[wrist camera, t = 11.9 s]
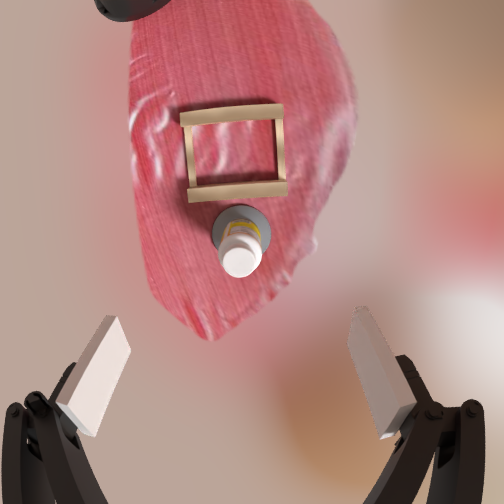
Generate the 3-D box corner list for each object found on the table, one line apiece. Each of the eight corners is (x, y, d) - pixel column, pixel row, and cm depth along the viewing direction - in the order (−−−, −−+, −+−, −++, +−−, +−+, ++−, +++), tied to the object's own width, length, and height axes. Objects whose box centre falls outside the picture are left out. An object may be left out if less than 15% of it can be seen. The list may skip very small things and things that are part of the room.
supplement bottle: (238, 257, 44) (234, 291, 34) (216, 230, 42) (205, 258, 32) (267, 237, 42) (271, 267, 33) (245, 209, 41) (243, 231, 31)
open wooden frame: (183, 114, 36) (179, 112, 33) (281, 105, 35) (282, 103, 33) (192, 199, 41) (188, 202, 38) (285, 192, 40) (287, 195, 38)
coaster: (209, 207, 41) (208, 208, 41) (269, 203, 41) (269, 204, 40) (216, 261, 45) (215, 263, 44) (271, 258, 44) (272, 259, 44)
